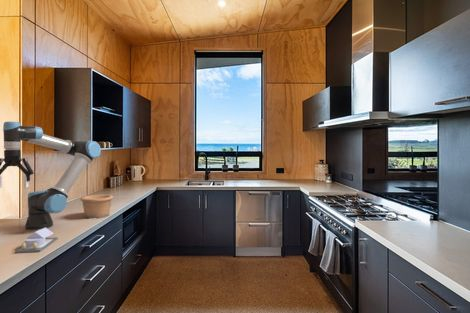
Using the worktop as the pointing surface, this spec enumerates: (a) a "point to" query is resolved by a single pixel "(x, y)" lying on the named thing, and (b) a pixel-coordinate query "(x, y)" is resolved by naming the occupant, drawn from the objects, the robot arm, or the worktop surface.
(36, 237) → the wedge on round base
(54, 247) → the worktop surface
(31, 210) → the robot arm
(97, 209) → the pottery
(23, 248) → the pin plate
